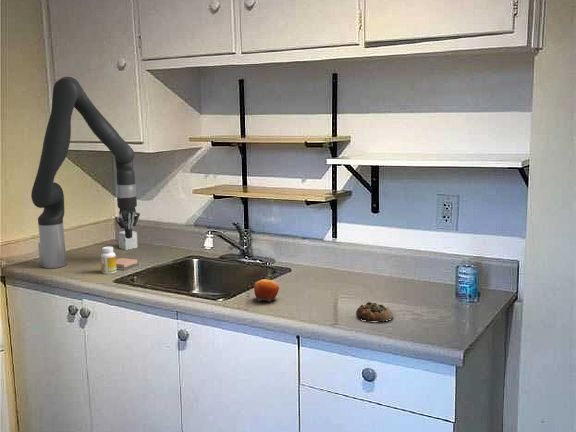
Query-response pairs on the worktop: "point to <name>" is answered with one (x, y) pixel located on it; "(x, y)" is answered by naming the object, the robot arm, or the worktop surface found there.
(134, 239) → the skincare box
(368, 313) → the bread roll
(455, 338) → the worktop surface
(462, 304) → the worktop surface
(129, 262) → the tile
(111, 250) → the supplement bottle
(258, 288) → the fruit
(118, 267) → the mat
